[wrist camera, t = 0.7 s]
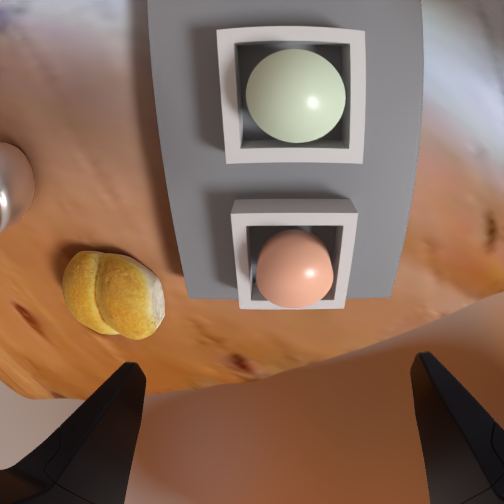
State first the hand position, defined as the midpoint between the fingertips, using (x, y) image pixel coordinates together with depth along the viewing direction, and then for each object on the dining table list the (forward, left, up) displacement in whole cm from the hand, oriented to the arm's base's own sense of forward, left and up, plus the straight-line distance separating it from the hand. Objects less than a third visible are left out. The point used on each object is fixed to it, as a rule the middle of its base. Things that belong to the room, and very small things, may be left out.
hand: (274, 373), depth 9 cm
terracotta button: (-1, +2, -9) cm, 9 cm away
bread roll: (+13, +7, -13) cm, 19 cm away
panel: (-1, -7, -12) cm, 14 cm away
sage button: (-1, -7, -9) cm, 11 cm away
